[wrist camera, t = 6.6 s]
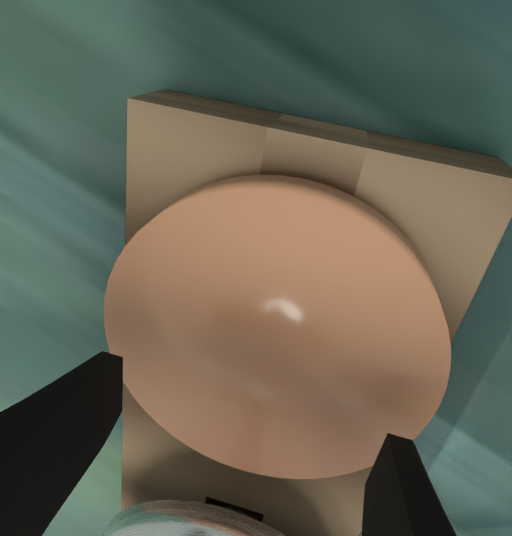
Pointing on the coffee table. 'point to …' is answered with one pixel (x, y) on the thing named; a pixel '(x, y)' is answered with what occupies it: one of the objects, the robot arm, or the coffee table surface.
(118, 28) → the coffee table surface
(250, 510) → the block
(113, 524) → the chrome metal disc
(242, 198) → the peach dome disc
